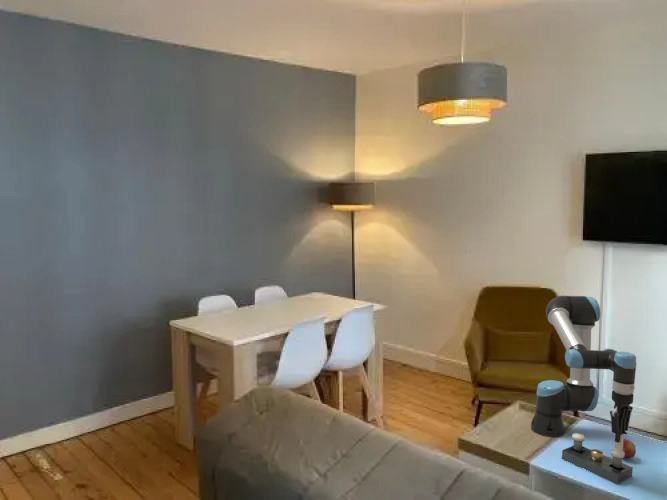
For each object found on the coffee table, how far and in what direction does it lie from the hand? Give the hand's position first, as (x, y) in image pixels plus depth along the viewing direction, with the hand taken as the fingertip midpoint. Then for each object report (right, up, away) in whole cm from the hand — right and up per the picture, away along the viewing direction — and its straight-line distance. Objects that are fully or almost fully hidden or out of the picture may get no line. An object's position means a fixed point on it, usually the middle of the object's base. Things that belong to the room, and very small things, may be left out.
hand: (618, 449), depth 218 cm
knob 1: (-10, -5, +15) cm, 18 cm away
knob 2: (0, -7, +1) cm, 7 cm away
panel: (-5, -11, +8) cm, 14 cm away
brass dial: (-5, -7, +8) cm, 11 cm away
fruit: (+12, -10, +17) cm, 23 cm away
